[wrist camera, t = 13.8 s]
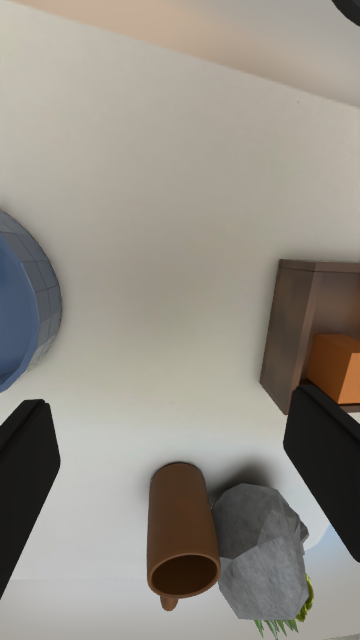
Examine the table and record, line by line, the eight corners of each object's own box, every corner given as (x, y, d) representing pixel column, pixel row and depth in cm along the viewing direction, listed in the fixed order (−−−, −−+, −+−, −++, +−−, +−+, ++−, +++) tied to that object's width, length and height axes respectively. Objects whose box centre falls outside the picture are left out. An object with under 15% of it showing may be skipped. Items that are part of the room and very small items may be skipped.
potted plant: (291, 472, 26) (355, 557, 28) (213, 459, 35) (265, 523, 37) (262, 619, 18) (355, 726, 20) (171, 551, 27) (239, 628, 29)
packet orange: (315, 333, 25) (352, 353, 20) (343, 333, 25) (385, 352, 21) (305, 376, 27) (337, 403, 22) (331, 376, 27) (368, 402, 22)
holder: (279, 259, 23) (316, 261, 17) (402, 263, 24) (471, 266, 19) (259, 383, 27) (284, 415, 22) (364, 380, 28) (412, 410, 23)
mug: (188, 524, 33) (199, 624, 24) (138, 520, 32) (130, 625, 23) (210, 463, 30) (233, 553, 21) (156, 457, 29) (154, 550, 20)
